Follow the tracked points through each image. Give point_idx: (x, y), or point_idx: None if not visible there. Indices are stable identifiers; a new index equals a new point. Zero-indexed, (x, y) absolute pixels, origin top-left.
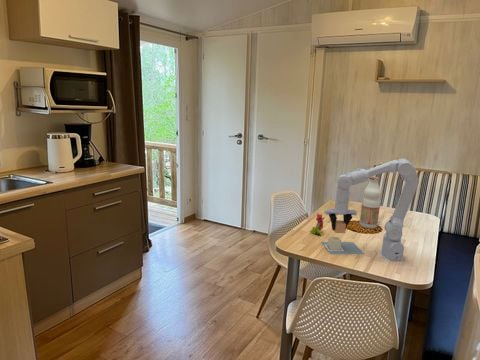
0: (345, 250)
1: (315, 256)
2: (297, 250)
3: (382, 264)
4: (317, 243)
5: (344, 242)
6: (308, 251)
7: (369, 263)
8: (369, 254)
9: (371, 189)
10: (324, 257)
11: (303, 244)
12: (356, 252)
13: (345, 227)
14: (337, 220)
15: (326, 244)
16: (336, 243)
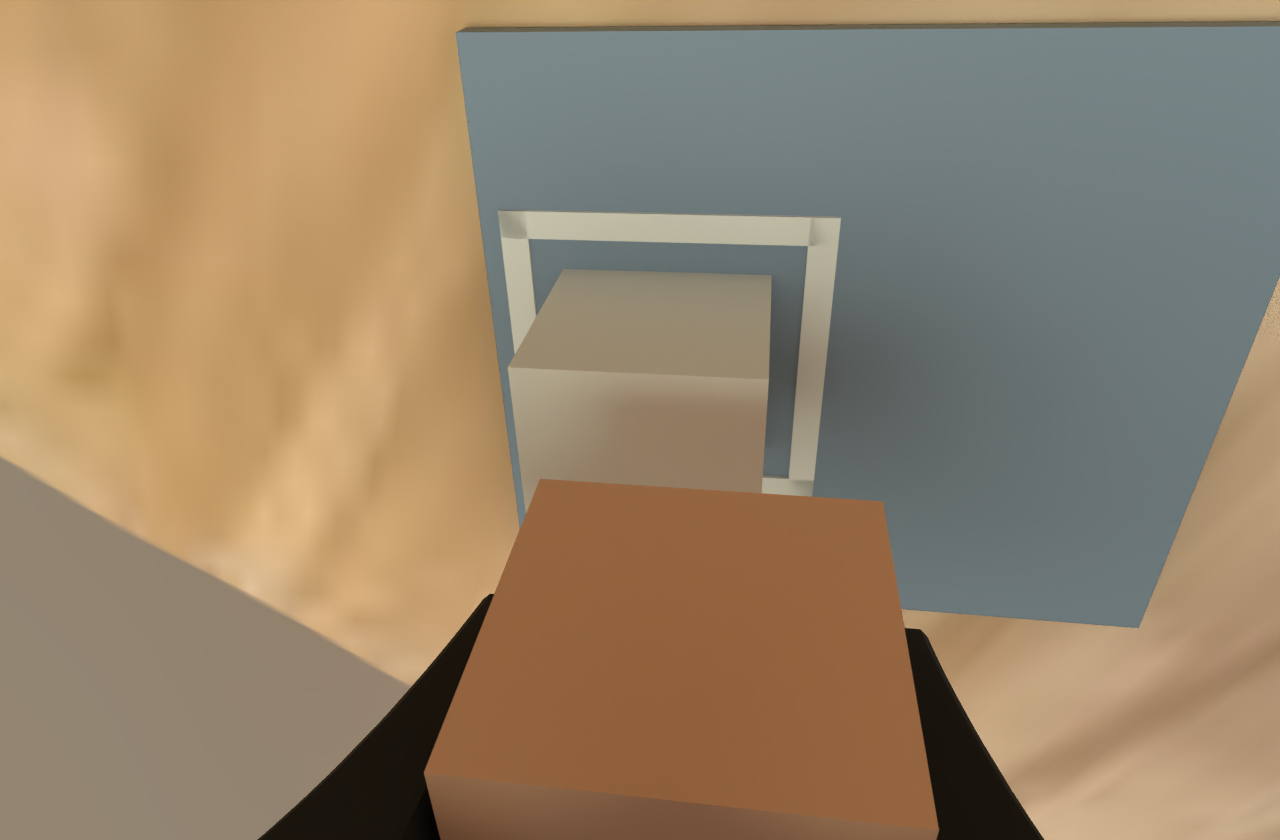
0: (849, 483)
1: (307, 573)
2: (29, 381)
3: (1180, 828)
4: (383, 51)
5: (1086, 61)
6: (203, 423)
7: None
8: (1256, 584)
9: None
10: (430, 607)
11: (86, 117)
12: (1018, 564)
13: None
14: (645, 802)
15: (556, 194)
16: None
